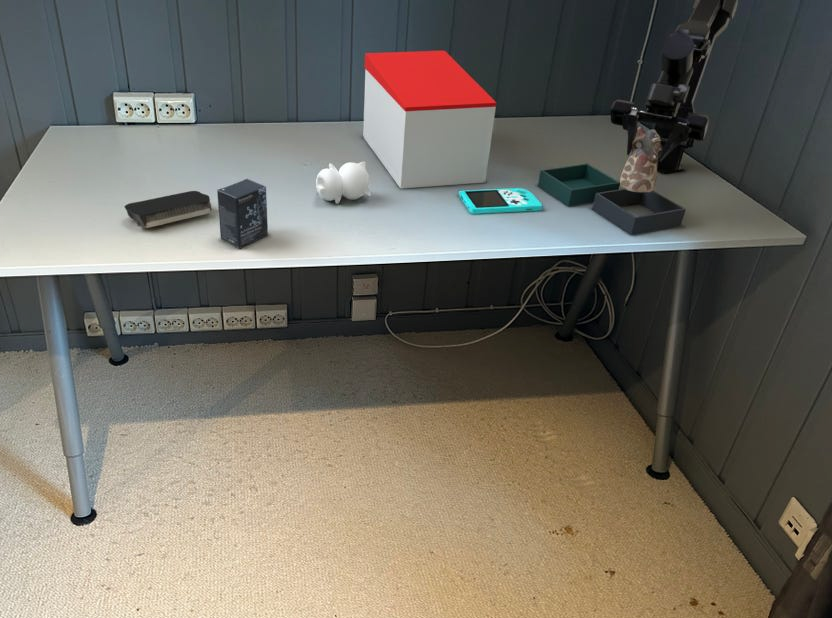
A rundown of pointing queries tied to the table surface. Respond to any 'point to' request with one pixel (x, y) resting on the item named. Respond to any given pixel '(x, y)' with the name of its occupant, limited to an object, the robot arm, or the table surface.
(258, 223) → the box
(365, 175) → the cat figurine
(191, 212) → the black sponge
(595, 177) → the teal tote
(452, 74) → the storage cube
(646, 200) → the grey tote
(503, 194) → the handheld game console
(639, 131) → the ceramic spout vessel
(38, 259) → the table surface
